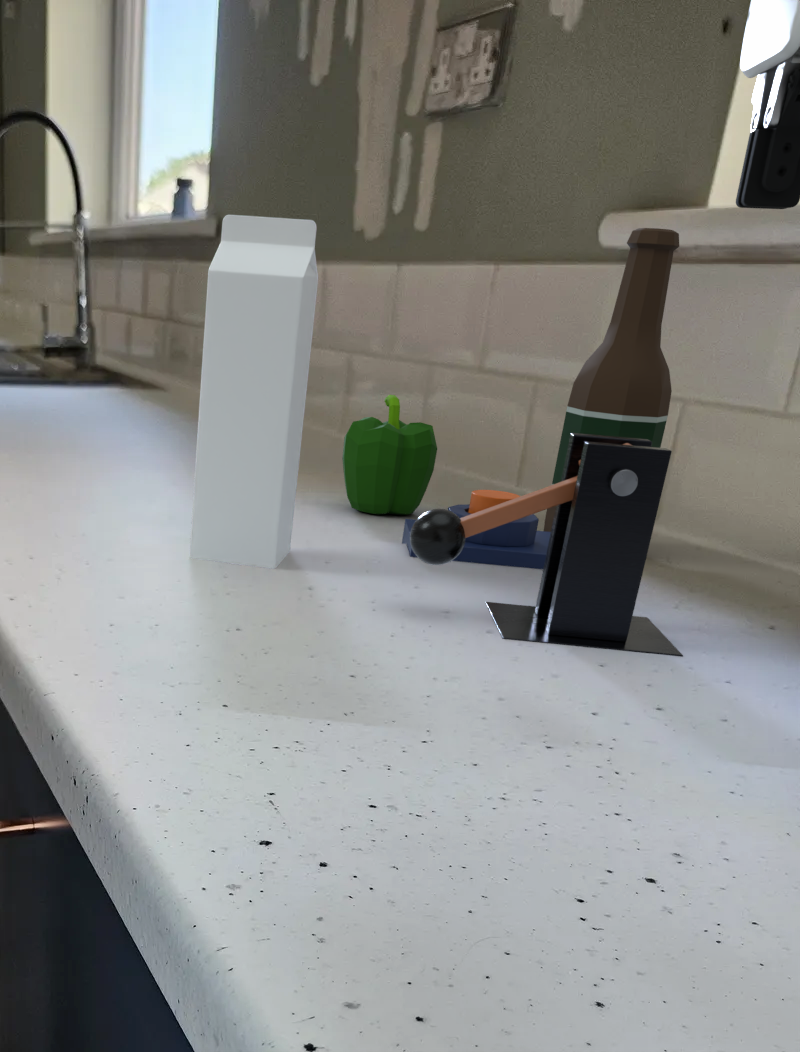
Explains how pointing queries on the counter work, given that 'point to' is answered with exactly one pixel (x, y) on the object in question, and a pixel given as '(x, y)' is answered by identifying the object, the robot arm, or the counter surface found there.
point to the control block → (499, 542)
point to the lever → (479, 522)
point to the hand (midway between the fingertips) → (765, 206)
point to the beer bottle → (627, 357)
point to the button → (488, 499)
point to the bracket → (597, 552)
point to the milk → (253, 389)
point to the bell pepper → (388, 463)
